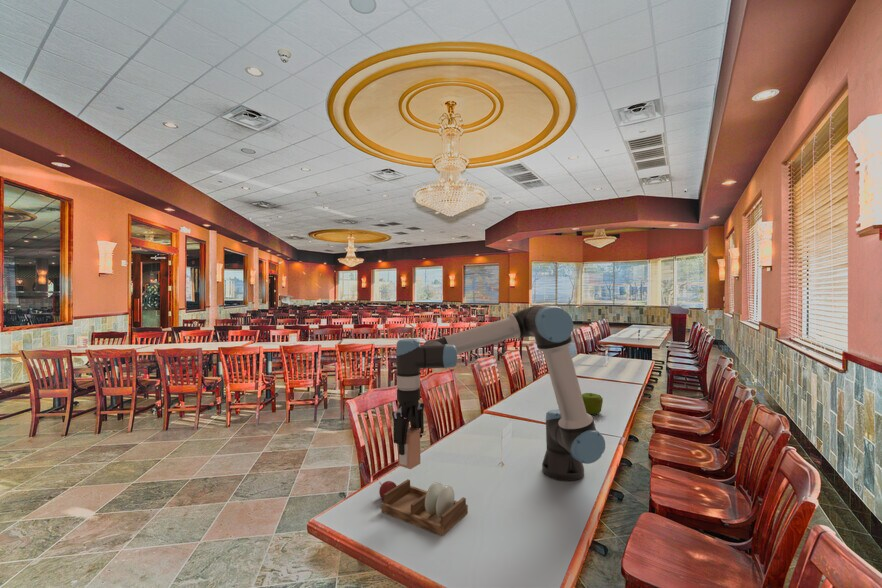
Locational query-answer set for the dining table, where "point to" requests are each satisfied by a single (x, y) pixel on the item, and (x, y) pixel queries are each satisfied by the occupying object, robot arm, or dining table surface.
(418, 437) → the tall tan box
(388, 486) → the fruit
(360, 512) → the dining table surface
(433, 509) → the plates
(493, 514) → the dining table surface
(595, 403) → the apple
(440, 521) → the rack
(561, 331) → the robot arm
